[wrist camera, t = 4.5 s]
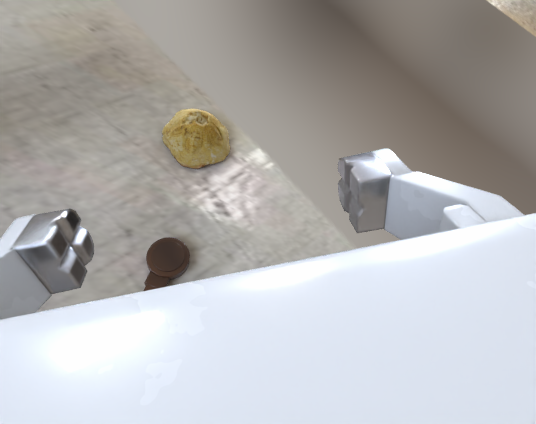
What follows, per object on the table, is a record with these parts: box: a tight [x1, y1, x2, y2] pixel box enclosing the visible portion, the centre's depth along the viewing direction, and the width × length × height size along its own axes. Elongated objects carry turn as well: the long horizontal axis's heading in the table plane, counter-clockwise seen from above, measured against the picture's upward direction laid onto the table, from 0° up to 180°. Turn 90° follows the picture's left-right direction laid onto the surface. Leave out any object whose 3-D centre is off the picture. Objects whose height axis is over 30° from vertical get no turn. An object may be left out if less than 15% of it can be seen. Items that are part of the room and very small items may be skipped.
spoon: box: [144, 238, 190, 291], centre depth 39 cm, size 19×5×2 cm, turn 164°
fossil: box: [162, 109, 230, 169], centre depth 52 cm, size 11×6×10 cm
